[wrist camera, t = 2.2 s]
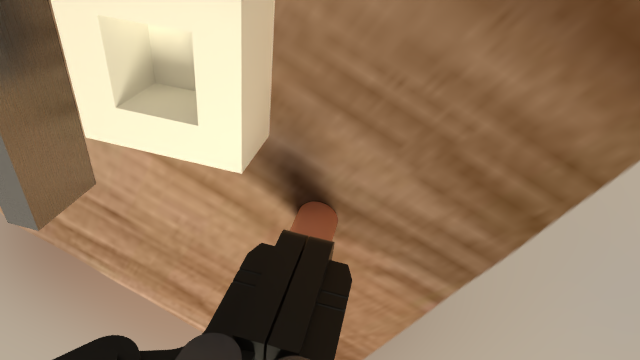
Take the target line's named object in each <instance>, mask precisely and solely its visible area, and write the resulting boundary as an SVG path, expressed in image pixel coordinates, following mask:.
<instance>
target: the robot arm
mask: <svg viewBox="0 0 640 360" xmlns="http://www.w3.org/2000/svg"><path fill="white" fill-rule="evenodd" d="M333 249H334V242H332V241H328V240H324V239H320V238H316V237H312V236H310V237H308V235H304V234H300V233H296V232H292V231H288V230H283V231H282V233H281V235H280V237H279V239H278V241H277V243H276V245H275V246H272V245H268V244H264V243H261V244H259V245H258V246H257V247H256V248H254V249H253V250H252V251H250V252H249V253H248V254H247V256H246V258H245V259H244V261H243V263H242V265H241V267H240V270H239V271H238V272H237V274H236V276H235V278H234V279H233V283H231V285H230V287H229V289H228V290H227V292H226V294H225V296H224V298H223V300H222V301H221V303H220V305H219V307H218V309H217V310H216V312H215V314H214V316H213V318H212V320H211V321H210V323H209V325H208V327H207V328H206V330H205V331H204V332H203V334H202V335H200V336H198V337H196V338H194V339H192V340H191V341H189V342H188V343H187V344H186V345H185V346H184V347H181V348H177V349H172V350H154V351H139V350H138V347H137V345H136V344H135V343H134V342H133V341H132V340H131V339H129V338H127V337H124V336H119V335H111V336H106V337H102V338H99V339H96V340H94V341H92V342H89V343H88V344H85V345H83V346H81V347H79V348H77V349H75V350H72V351H70V352H68V353H66V354H64V355H62V356H60V357H57V358H56V359H53V360H334V358H335V354H336V349H337V345H338V341H339V336H340V332H341V327H342V323H343V319H344V314H345V310H346V305H347V301H348V297H349V292H350V288H351V283H352V278H351V274H350V271H349V267H348V265H347V264H343V263H339V262H335V261H332V255H333Z"/></svg>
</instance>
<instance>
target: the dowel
mask: <svg viewBox="0 0 640 360" xmlns="http://www.w3.org/2000/svg"><path fill="white" fill-rule="evenodd" d="M337 223H338V218H337V215H336V213H335V211H334V210H333V209H332V208H331V207H330V206H328V205H326V204H324V203H321V202H315V201H313V202H308V203H305V204H304V205H302V206H301V208H300V209H299V211H298V214H297V216H296V218H295V220H294V222H293V225H292V227H291V229H290V231H292V232H296V233H300V234H304V235H308V237H310V236H312V237H316V238H320V239H324V240H328V241H332V239H333V236H334V233H335V230H336V226H337Z"/></svg>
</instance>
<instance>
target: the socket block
mask: <svg viewBox="0 0 640 360" xmlns="http://www.w3.org/2000/svg"><path fill="white" fill-rule="evenodd" d="M51 3H52V7H53V11H54V15H55V19H56V23H57V27H58V31H59V35H60V38H61V42H62V46H63V50H64V54H65V58H66V62H67V66H68V70H69V74H70V78H71V82H72V86H73V89H74V93H75V97H76V101H77V105H78V109H79V113H80V117H81V121H82V125H83V129H84V133H85V137H86V138H91V139H95V140H99V141H104V142H108V143H112V144H117V145H121V146H125V147H129V148H134V149H138V150H142V151H147V152H151V153H155V154H160V155H164V156H168V157H172V158H177V159H181V160H185V161H190V162H194V163H198V164H203V165H207V166H211V167H215V168H220V169H224V170H228V171H233V172H237V173H241V174H242V172H243V171H244V170H245V168H246V167H247V166H248V164H249V163H250V161H251V160H252V159H253V157H254V156H255V155H256V153H257V152H258V150H259V149H260V148H261V146H262V145H263V144H264V142H265V141H266V139H267V138H268V137H269V128H270V104H271V80H272V57H273V33H274V10H275V0H51Z"/></svg>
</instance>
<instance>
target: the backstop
mask: <svg viewBox="0 0 640 360" xmlns="http://www.w3.org/2000/svg"><path fill="white" fill-rule="evenodd" d="M95 184H96V183H95V179H94V175H93V171H92V168H91V164H90V160H89V156H88V152H87V148H86V145H85V141H84V137H83V133H82V129H81V125H80V122H79V118H78V114H77V110H76V106H75V102H74V99H73V95H72V91H71V87H70V83H69V80H68V76H67V72H66V68H65V64H64V60H63V57H62V53H61V49H60V45H59V41H58V37H57V34H56V30H55V26H54V22H53V18H52V15H51V11H50V7H49V3H48V0H0V206H1V208H2V211H3V213H4V215H5V217H6V220H7V222H8V223H11V224H15V225H19V226H23V227H26V228H30V229H34V230H37V231H39V230H40V229H41V228H43V227H44V226H45V225H46V224H47V223H49V222H50V221H51V220H52V219H54V218H55V217H56V216H57V215H58V214H60V213H61V212H62V211H63V210H65V209H66V208H67V207H68V206H69V205H71V204H72V203H73V202H74V201H76V200H77V199H78V198H79V197H80V196H82V195H83V194H84V193H85V192H87V191H88V190H89V189H90V188H91V187H93V186H94V185H95Z"/></svg>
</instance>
